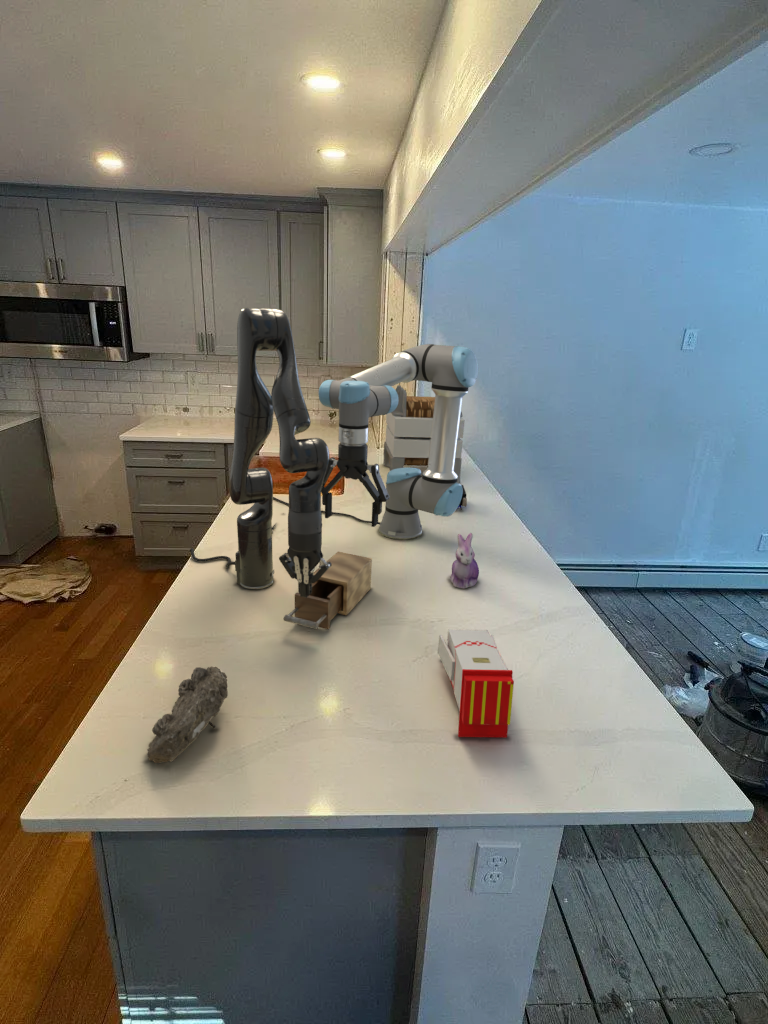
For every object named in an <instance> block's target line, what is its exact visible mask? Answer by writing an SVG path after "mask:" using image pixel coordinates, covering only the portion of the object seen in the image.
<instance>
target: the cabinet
mask: <svg viewBox="0 0 768 1024" xmlns="http://www.w3.org/2000/svg"><path fill="white" fill-rule="evenodd" d="M325 561H326V562H331V564H332V566H331V567H330V568H329V569H328V570H327V571H326V572H325V573H324V574H323V575H322V576H321V577H320V578H319V579H318V580H321V581H326V582H330V583H335V584H339V585H344V594H343V608H342V609H341V610H340V611H339V612H338V613H337V614H338V615H343V616H348V615H349V613H350V612H351V611H352V610H353V609H354V608H355V607H356V606H357V605H358V604H359V603H360V601H361V600H362V599H363V598H364V597H365V596H366V595H367V594H368V592H370V590H371V589H372V564H373V563H372V562H373V558H372V557H367V556H363V555H356V554H352V553H348V552H342V551H337V552H336V553H335V554H333V555H332V556H331V557H329V558H328V559H327V560H325ZM319 570H320V569H319V567H318V568H317V569H315V570H314V574H313V575H315V574H316V573H317V572H318V571H319ZM312 584H313V583H312Z"/></svg>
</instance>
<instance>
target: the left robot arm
mask: <svg viewBox="0 0 768 1024" xmlns="http://www.w3.org/2000/svg"><path fill="white" fill-rule="evenodd" d="M237 317H238V318H237V323H236V324H237V325H236V344H237V345H236V346H237V381H236V394H235V405H234V429H233V430H234V431H233V432H234V433H233V448H232V449H233V450H232V457H231V464H230V470H229V479H228V492H229V493H228V494H229V497H230V500H231V502H233V503H234V505H236V506H237V505H240V506H243V505H251V507H249V508H248V509H246V510H245V511H242V512H241V513H240V514H239V515H238V516H237V517H236V530H237V531H236V532H237V549H238V550H237V551H236V552H235V561H232V560H231V559H232V558H230V557H229V556H227V555H217V556H213V557H206V558H198V557H196V556H195V549H194V547H190V549H189V552H190V555H191V558H192V560H194V561H196V562H199V563H205V562H210V561H215V560H227V562H226V565H225V568H226V569H229V568H230V566H234V570H235V573H236V574H235V575H236V584H237V585H240V586H241V587H242V588H244V589H247V590H262V589H266V588H268V587H270V586H271V585H273V583H274V574H275V569H274V561H273V560H274V558H273V530H272V527H273V525H272V523H273V514H274V513H273V511H274V509H273V507H274V499H273V497H274V481H273V476H272V473H271V472H270V470H269V469H268V468H267V467H254V468H253V467H252V468H249V467H250V465H251V462H252V460H253V458H254V457H255V455H256V453H257V452H258V451H259V449H260V448H261V447H262V446H263V444H264V443H265V441H266V440H267V439H268V437H269V436H270V434H271V432H272V429H273V424H274V415H275V418H276V419H275V420H276V422H277V425H278V426H277V427H278V435H279V436H278V437H279V452H278V453H279V454H278V455H279V462H280V463H279V464H280V465H281V467H282V468H283V469H284V470H285V471H286V472H287V473H289V474H299V473H305V475H304V476H303V477H301V478H300V479H296V480H295V481H293V482H291V483H290V484H289V487H288V503H289V505H288V513H287V543H288V544H287V546H288V548H287V551H286V552H284V553H283V554H282V555H280V556H279V557H278V560H279V562H280V563H281V565H282V566H283V568H284V569H285V571H286V572H287V574H288V575H289V577H290V578H291V579H294V580H296V581H297V585H298V586H297V587H298V588H297V589H298V591H297V593H299V594H300V596H301V597H305V598H307V597H308V596H309V595H310V594H311V593H312V583H315V582H316V581H317V580H318V579H319V578H320V577H321V576H322V575H323V574H324V573H325V572H326V571H327V570H328V569H329V568H330V567H331V566H332V564H331V562H326V561H327V560H325V558H324V554H323V552H322V545H323V515H322V513H321V511H322V493H321V489H322V485H323V481H324V477H325V474H326V471H327V467H328V463H329V459H330V449H329V446H328V444H327V443H326V441H324V440H323V439H322V438H320V437H310V438H309V437H308V438H301V439H299V438H298V439H297V438H296V436H295V435H298V434H301V433H303V432H305V431H307V430H308V429H309V428H310V427H311V424H312V423H311V422H312V421H311V417H310V414H309V410H308V408H307V404H306V401H305V398H304V394H303V391H302V386H301V383H300V376H299V370H298V362H297V356H296V350H295V344H294V338H293V331H292V326H291V324H290V320H289V317H288V315H287V314H286V313H285V311H284V310H282V309H281V308H272V307H243V308H242V309H241V310H240V312H239V314H238V316H237ZM260 351H262V352H265V351H266V352H267V351H268V352H271V351H272V352H276V354H277V356H278V359H279V363H278V369H277V373H276V376H275V378H274V381H273V385H272V387H271V393H270V391H269V389H268V387H267V386H266V384H265V383H264V381H263V379H262V377H261V375H260V373H259V371H258V367H257V359H256V357H257V352H260ZM317 566H318V568H319V569H320V570H319V571H318V572H317V573H316V574H315V575H313V574H314V572H315V571H316V567H317Z"/></svg>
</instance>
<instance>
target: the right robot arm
mask: <svg viewBox="0 0 768 1024" xmlns="http://www.w3.org/2000/svg"><path fill="white" fill-rule="evenodd" d="M478 375H479V363H478V359H477V356H476V353H475V352H474V351H473V349H471V348H469V347H466V346H461V345H446V344H445V345H444V344H434V343H425V344H424V343H423V344H419V345H417V346H416V345H415V346H412V347H410V348H407V349H404V350H402V351H399V352H397V353H395V354H394V355H393V356H392V358H391V359H389V360H386V361H383V362H381V363H379V364H375V365H374V366H371V367H369V368H367V369H364V370H362V371H360V372H357V373H355V374H353V375H349V376H347V377H345V378H343V379H340V380H336V379H326V380H324V381H322V382H321V384H320V386H319V388H318V400H319V402H320V403H321V405H322V406H324V407H327V408H330V409H333V410H334V409H335V410H338V442H339V444H338V446H337V447H338V449H337V456H338V459H335V457H329V463H328V467H327V471H326V474H325V477H324V481H323V485H322V489H321V505H322V506H324V510H321V514H322V513H323V514H324V519H329V518H330V517H332V515H337V516H344V517H348V518H352V519H354V520H356V521H359V522H361V523H363V524H364V523H365V524H371V527H373V528H375V527H376V526H377V525H379V527H378V533H379V534H380V535H381V536H382V537H385V538H387V539H389V540H395V541H410V540H415V539H418V538H420V537H421V536H422V535H423V525H422V524H421V518H420V515H419V511H421V512H425V513H429V514H431V515H435V516H440V517H450V516H452V515H453V514H454V513H455V512H456V511H457V509H459V508H458V506H459V504H460V502H461V498H462V494H463V489H462V486H461V485H462V484H460V482H459V483H457V477H458V476H457V475H456V474H455V472H454V464H455V455H456V447H457V439H458V431H459V422H460V414H461V412H462V406H463V398H464V396H465V395H467V394H468V393H469V389H470V388H471V387H473V386H474V385H475V384H476V381H477V379H478ZM413 381H420V382H428V383H431V387H430V389H431V391H432V392H433V393H434V395H435V396H434V397H435V404H434V413H433V422H432V432H431V441H430V450H429V460H428V466H427V468H426V469H425V470H423V471H422V470H421V469H420V468H418V467H404V468H398V469H394V470H391V471H390V470H388V472H387V475H386V480H385V482H384V480H383V478H382V476H381V473H380V465H379V463H374V464H368V453H369V451H368V450H369V449H368V447H369V446H368V444H367V443H368V442H369V419H370V418H373V417H378V416H386V414H388V413H391V412H393V411H394V410H395V409H396V408H397V406H398V401H399V400H398V394H397V392H396V388H394V386H396V385H399V384H400V383H403V384H407V383H410V382H413ZM336 466H337V468H338V470H339V471H338V472H337V474H336V475H335V476H334V477H333V478H331V480H330V481H329V483H327V481H328V479H329V478H330V476H331V474H332V472H333V471H334V468H335V467H336ZM367 471H369V473H367ZM369 474H371V477H372V480H373V481H372V480H371V479H370V476H369ZM342 478H345V479H348V480H349V479H352V480H355V481H357V480H358V481H359V483H361V484H362V485H363V486H364V488H365V489H366V490H367V492H368V493H369V495H370V496H371V498H372V499H373V502H372V503H371V504H372V505H371V520H364V519H361V518H358V517H357V516H354V515H352V514H348V513H343V512H335V511H333V492H331V490H332V489H333V488H334V487H335V486H336V485H337V484H338V483H339V482H340V481H341V479H342ZM373 482H374V483H373ZM326 483H327V484H326ZM273 500H275V501H277V502H279V503H281V504H284V505H286V506H289V502H287V501H284V500H281V499H279V498H276V497H274V496H273ZM383 503H385V504H384V505H385V507H384V508H385V509H384V513H383V515H382V519H381V522H379V516H380V515H381V514H382V512H383Z"/></svg>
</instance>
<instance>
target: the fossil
mask: <svg viewBox="0 0 768 1024" xmlns="http://www.w3.org/2000/svg"><path fill="white" fill-rule="evenodd" d="M228 687H229V686H228V676H227V674H226V673H225V672H223V671H221V668H219V667H218V666H207V668H205V667H200V666H197V667H195V668H194V669H193V671H192V673H191V675H190V678H187V679H183V680H182V681H181V682H180V684H178V690H177V691H178V697H177V699H176V701H175V702H174V705H173V706H172V708H171V714H170V713H165V714H164V715H162V717H161V718H159V719H157V721H156V722H155V724H154V725H153V727H152V730H151V731H152V733H153V735H155V736H154V737H153V739H152V740H151V742H149V743H148V748H147V749H146V750H147V752H146V755H147V758H148V761H152V762H154V763H155V764H161V763H167V762H171V763H172V762H173V761H174V760H175V759H176V758H178V756H180V755H181V754H182V753H183V752H184V751H186V750H187V748H188V747H189V746H191V744H192V743H193V742H194V741H196V740H197V739H198V738H199V736H200V735H201V733H202V731H204V730H205V728H207V726H208V725H209V726H210V727H211V728H212V729H216V725H215V724H214V723H213V722H212V721H211V720H212V718H214V717H215V718H216V716H217V715H218V713H219V712H220V711H221V710H220V709H221V707H222V706H223V704H224V701H225V700H226V699H227V698H228V695H229V692H228Z"/></svg>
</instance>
